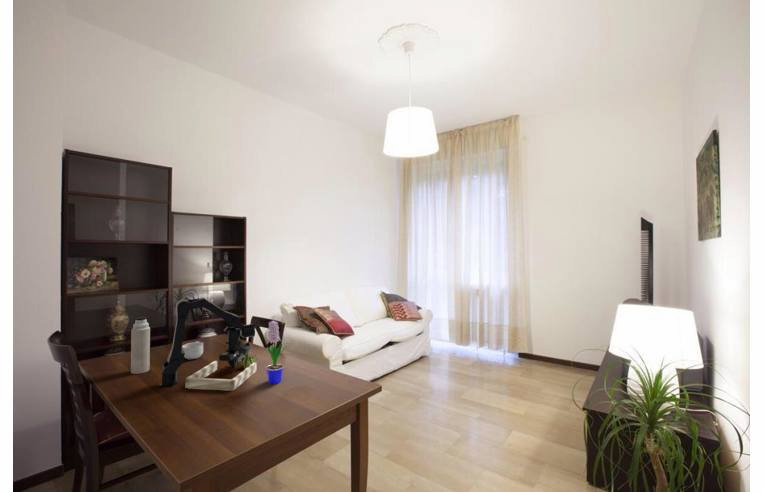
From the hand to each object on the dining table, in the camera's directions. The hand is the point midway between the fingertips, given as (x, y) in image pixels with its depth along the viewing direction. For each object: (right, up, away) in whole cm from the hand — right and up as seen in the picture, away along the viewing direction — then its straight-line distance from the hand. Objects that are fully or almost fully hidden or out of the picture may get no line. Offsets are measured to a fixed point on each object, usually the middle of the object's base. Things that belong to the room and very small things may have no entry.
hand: (233, 368), depth 178 cm
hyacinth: (+26, -2, -12) cm, 29 cm away
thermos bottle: (-48, -1, -1) cm, 48 cm away
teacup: (-33, -1, +22) cm, 40 cm away
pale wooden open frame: (-1, -2, -10) cm, 10 cm away
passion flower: (+2, -2, +8) cm, 9 cm away
